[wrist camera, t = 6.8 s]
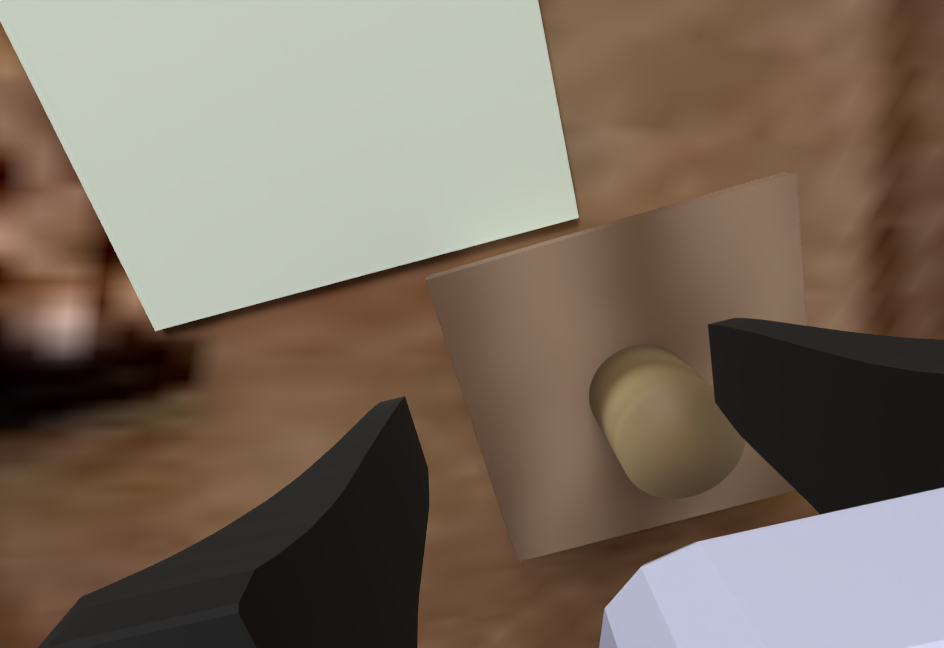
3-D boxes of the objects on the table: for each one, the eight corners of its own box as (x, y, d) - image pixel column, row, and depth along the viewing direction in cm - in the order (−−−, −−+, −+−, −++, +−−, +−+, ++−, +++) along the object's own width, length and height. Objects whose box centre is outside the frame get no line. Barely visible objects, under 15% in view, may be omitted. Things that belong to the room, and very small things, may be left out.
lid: (515, 550, 20) (530, 644, 16) (426, 276, 16) (418, 311, 12) (807, 475, 19) (895, 554, 16) (783, 171, 16) (892, 175, 12)
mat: (160, 328, 21) (155, 330, 20) (-65, -128, 16) (-78, -135, 15) (576, 216, 20) (578, 217, 20) (478, -302, 15) (479, -314, 15)
